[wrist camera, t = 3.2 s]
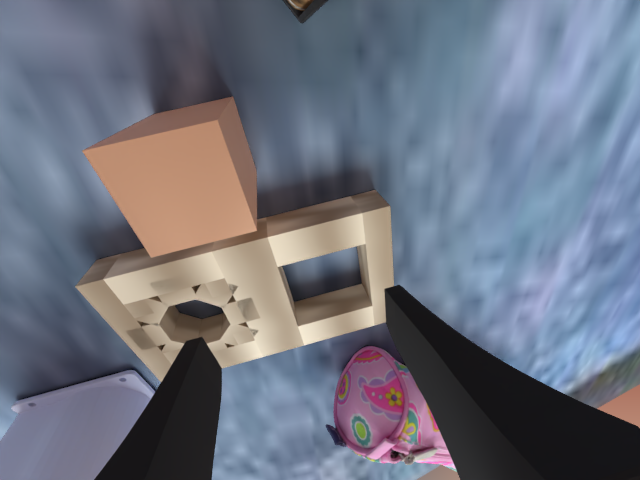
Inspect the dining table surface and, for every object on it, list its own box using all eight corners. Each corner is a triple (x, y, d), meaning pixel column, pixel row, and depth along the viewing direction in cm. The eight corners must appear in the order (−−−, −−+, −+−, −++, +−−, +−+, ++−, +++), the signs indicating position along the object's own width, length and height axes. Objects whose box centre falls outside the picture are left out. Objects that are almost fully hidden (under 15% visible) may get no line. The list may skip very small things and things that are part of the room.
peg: (188, 187, 16) (151, 257, 11) (153, 113, 14) (82, 150, 8) (256, 171, 17) (257, 230, 11) (233, 96, 14) (217, 119, 9)
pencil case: (314, 379, 29) (335, 491, 21) (376, 323, 26) (425, 429, 19) (434, 416, 39) (478, 502, 31) (489, 378, 36) (550, 462, 28)
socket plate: (171, 355, 23) (163, 384, 21) (96, 259, 18) (75, 286, 15) (383, 297, 24) (395, 319, 22) (375, 189, 19) (390, 205, 17)
